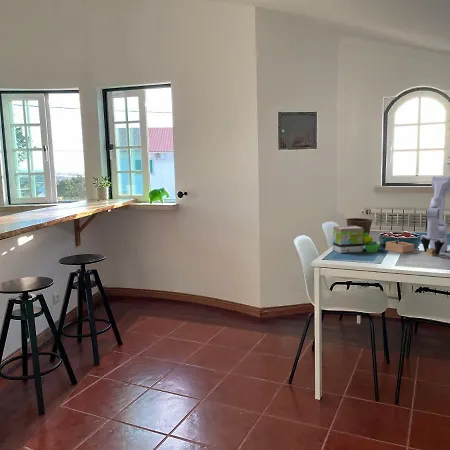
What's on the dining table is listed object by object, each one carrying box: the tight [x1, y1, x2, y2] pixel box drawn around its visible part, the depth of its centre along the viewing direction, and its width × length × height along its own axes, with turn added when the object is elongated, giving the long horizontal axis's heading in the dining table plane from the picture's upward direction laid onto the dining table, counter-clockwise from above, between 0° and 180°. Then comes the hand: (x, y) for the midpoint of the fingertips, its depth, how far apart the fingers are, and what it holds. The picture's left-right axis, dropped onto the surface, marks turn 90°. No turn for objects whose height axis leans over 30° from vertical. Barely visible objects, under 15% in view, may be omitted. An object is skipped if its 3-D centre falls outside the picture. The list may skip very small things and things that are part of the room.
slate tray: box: [383, 248, 421, 256], centre depth 273 cm, size 12×17×1 cm
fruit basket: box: [363, 233, 380, 253], centre depth 275 cm, size 11×9×11 cm
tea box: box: [332, 225, 364, 254], centre depth 277 cm, size 15×10×15 cm, turn 105°
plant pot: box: [345, 217, 373, 247], centre depth 297 cm, size 16×16×16 cm
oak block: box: [425, 247, 438, 257], centre depth 261 cm, size 4×4×4 cm
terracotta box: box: [385, 240, 415, 255], centre depth 273 cm, size 9×13×5 cm
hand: (431, 252), depth 261 cm, fingers open, 7 cm apart
